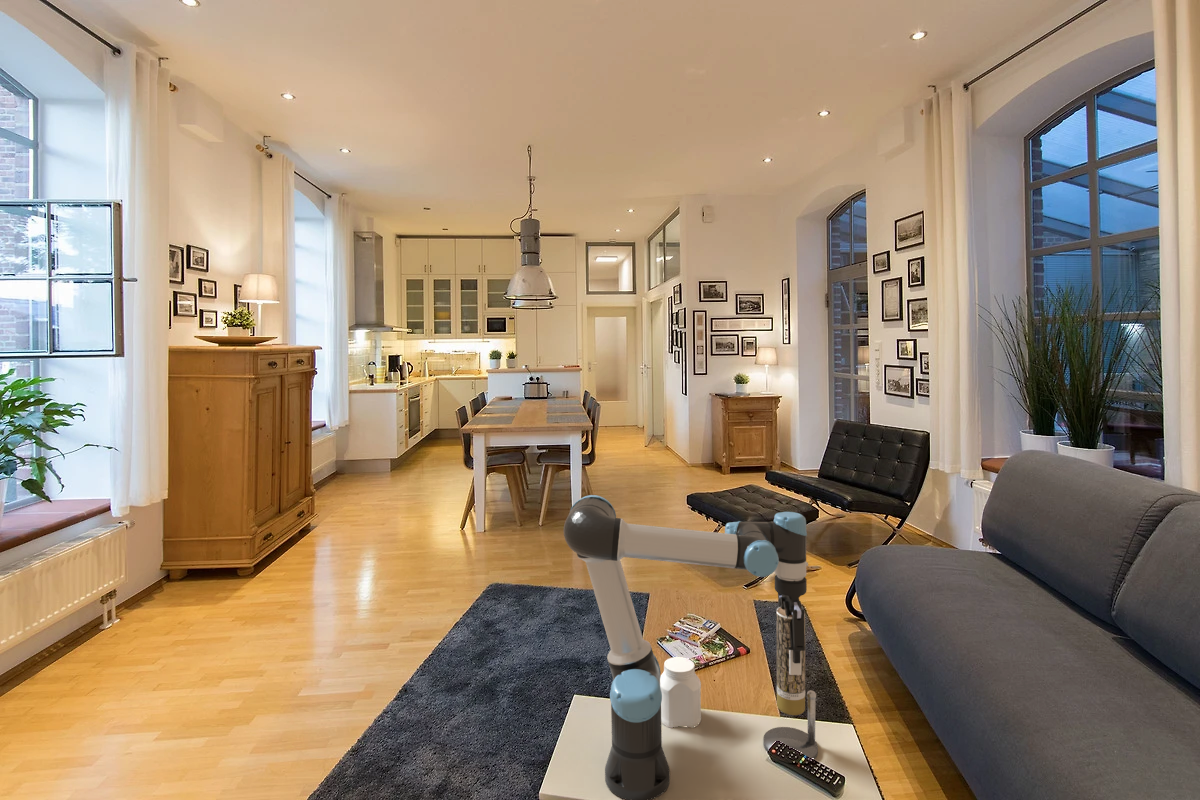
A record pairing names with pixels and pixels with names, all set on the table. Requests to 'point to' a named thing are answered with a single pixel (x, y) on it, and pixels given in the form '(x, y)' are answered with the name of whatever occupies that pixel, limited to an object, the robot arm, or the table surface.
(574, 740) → the table surface
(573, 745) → the table surface
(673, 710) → the jar
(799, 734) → the stand
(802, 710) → the paper tube
